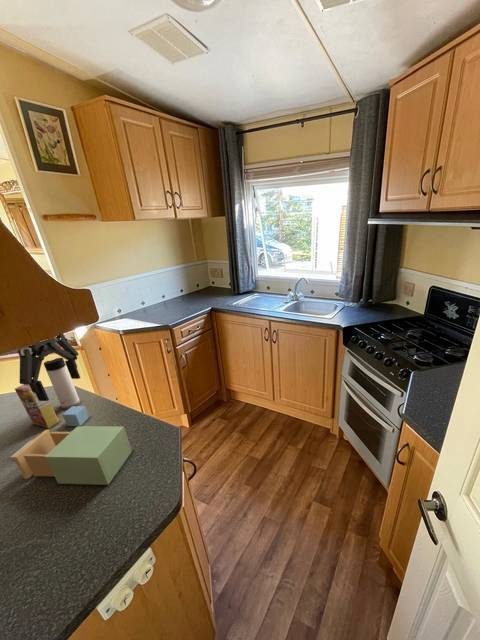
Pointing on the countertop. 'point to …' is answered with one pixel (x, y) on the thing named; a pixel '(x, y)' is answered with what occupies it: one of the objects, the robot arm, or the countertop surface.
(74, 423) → the block
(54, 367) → the travel mug
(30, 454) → the drawer
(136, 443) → the countertop surface
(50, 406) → the candy box
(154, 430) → the countertop surface
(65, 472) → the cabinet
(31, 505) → the countertop surface
